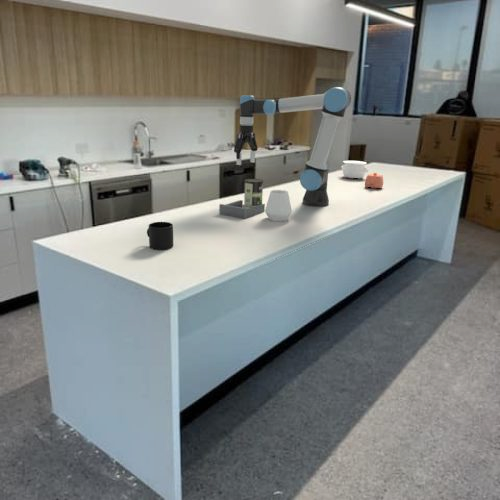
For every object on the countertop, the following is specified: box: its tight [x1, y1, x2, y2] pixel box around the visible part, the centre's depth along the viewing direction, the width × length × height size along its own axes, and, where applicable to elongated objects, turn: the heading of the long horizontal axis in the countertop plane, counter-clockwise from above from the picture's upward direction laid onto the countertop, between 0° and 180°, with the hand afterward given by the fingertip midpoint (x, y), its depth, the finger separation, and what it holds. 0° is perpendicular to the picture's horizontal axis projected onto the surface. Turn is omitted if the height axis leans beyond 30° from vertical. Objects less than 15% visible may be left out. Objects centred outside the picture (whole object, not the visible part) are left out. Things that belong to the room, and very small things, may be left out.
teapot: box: [364, 172, 384, 189], centre depth 318 cm, size 12×18×10 cm, turn 151°
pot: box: [340, 160, 369, 179], centre depth 356 cm, size 22×17×12 cm
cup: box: [264, 189, 293, 222], centre depth 229 cm, size 13×13×14 cm
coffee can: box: [243, 178, 264, 208], centre depth 256 cm, size 10×10×14 cm
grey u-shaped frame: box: [218, 199, 266, 219], centre depth 240 cm, size 16×20×5 cm
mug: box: [146, 221, 174, 251], centre depth 183 cm, size 9×12×9 cm
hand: (245, 163), depth 260 cm, fingers open, 13 cm apart
